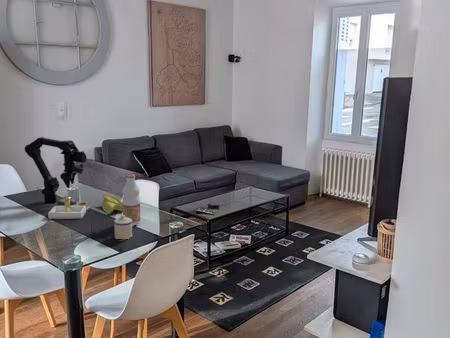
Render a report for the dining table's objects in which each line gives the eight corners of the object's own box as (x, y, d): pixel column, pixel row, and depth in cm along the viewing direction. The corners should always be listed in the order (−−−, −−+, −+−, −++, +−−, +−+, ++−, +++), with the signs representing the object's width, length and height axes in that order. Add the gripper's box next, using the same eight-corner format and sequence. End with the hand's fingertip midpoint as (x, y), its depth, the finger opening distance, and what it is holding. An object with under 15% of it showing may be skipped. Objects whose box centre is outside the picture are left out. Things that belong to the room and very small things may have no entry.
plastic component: (128, 208, 244) (114, 203, 237) (123, 219, 244) (108, 215, 237) (116, 197, 259) (102, 192, 253) (111, 207, 259) (97, 203, 253)
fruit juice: (119, 224, 224) (118, 175, 218) (132, 219, 231) (131, 172, 225) (131, 228, 219) (129, 178, 212) (144, 223, 226) (143, 174, 220)
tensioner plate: (55, 210, 242) (55, 202, 241) (59, 206, 250) (59, 198, 248) (86, 210, 244) (86, 202, 243) (89, 206, 252) (89, 198, 250)
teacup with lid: (136, 237, 207) (135, 215, 204) (121, 242, 200) (120, 220, 197) (122, 231, 215) (122, 210, 212) (107, 235, 208) (106, 214, 205)
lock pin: (63, 215, 233) (62, 198, 231) (65, 212, 237) (64, 196, 235) (70, 214, 233) (69, 198, 231) (72, 212, 237) (71, 196, 235)
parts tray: (48, 218, 228) (48, 213, 227) (54, 211, 240) (54, 206, 239) (81, 218, 230) (81, 212, 230) (86, 211, 242) (85, 206, 241)
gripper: (78, 165, 240) (79, 190, 244) (86, 158, 258) (87, 182, 262) (59, 164, 239) (60, 190, 243) (68, 158, 257) (69, 181, 261)
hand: (70, 185), depth 252 cm, fingers open, 9 cm apart
